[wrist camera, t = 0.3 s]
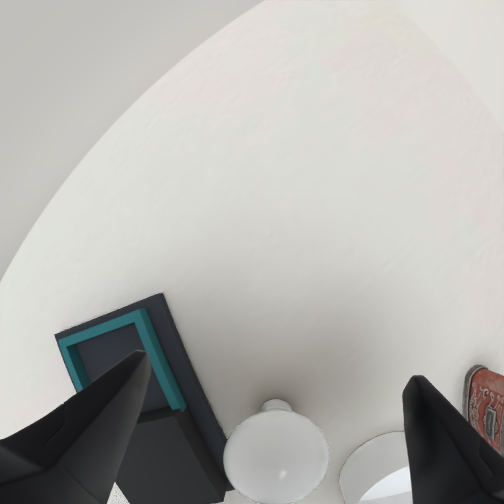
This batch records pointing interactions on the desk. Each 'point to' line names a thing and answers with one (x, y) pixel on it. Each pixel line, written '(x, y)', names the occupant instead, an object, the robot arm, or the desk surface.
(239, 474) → the lightbulb
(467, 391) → the lighter
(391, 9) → the desk surface
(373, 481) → the base with upright slab
